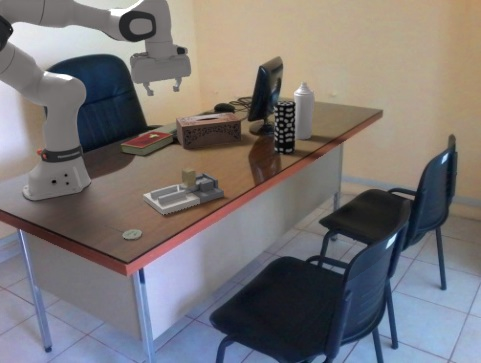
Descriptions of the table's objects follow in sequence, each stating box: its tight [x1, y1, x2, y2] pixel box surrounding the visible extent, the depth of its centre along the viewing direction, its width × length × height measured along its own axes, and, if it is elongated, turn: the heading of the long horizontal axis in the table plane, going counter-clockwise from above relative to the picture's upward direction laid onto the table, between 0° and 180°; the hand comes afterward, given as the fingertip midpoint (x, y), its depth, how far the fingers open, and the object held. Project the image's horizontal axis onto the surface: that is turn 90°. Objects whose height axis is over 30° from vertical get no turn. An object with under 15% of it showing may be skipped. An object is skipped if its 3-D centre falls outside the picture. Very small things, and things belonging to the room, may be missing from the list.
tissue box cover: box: [175, 112, 242, 149], centre depth 206 cm, size 26×14×10 cm, turn 107°
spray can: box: [293, 81, 316, 140], centre depth 203 cm, size 12×11×25 cm
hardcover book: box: [120, 130, 174, 156], centre depth 202 cm, size 12×21×4 cm, turn 151°
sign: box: [102, 223, 143, 240], centre depth 132 cm, size 5×1×15 cm
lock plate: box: [142, 172, 225, 216], centre depth 151 cm, size 22×14×5 cm, turn 126°
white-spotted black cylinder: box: [274, 100, 296, 156], centre depth 187 cm, size 8×8×20 cm
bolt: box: [179, 166, 209, 193], centre depth 152 cm, size 10×4×7 cm, turn 126°
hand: (163, 93), depth 154 cm, fingers open, 8 cm apart
